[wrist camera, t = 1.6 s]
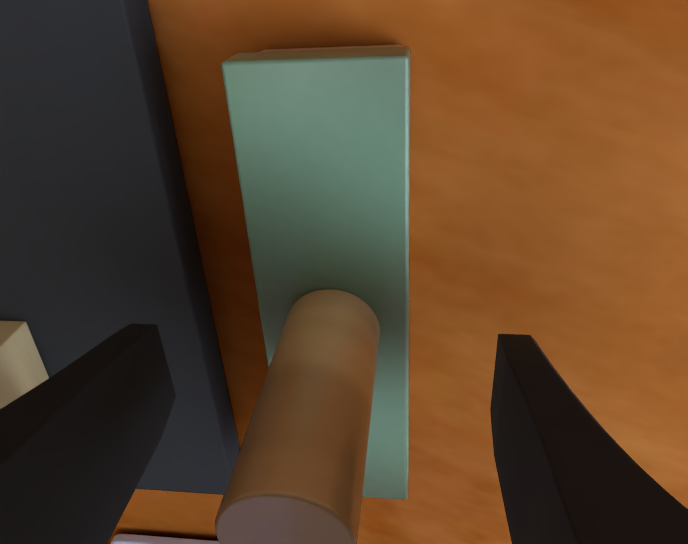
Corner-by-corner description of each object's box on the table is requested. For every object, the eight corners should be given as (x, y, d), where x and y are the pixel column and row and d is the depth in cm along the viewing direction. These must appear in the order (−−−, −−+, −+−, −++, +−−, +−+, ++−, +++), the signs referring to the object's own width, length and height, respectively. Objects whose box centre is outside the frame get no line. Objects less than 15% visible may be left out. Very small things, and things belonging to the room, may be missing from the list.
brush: (409, 435, 18) (401, 733, 12) (302, 429, 19) (233, 713, 12) (412, 33, 12) (396, 163, 5) (253, 39, 13) (56, 166, 6)
